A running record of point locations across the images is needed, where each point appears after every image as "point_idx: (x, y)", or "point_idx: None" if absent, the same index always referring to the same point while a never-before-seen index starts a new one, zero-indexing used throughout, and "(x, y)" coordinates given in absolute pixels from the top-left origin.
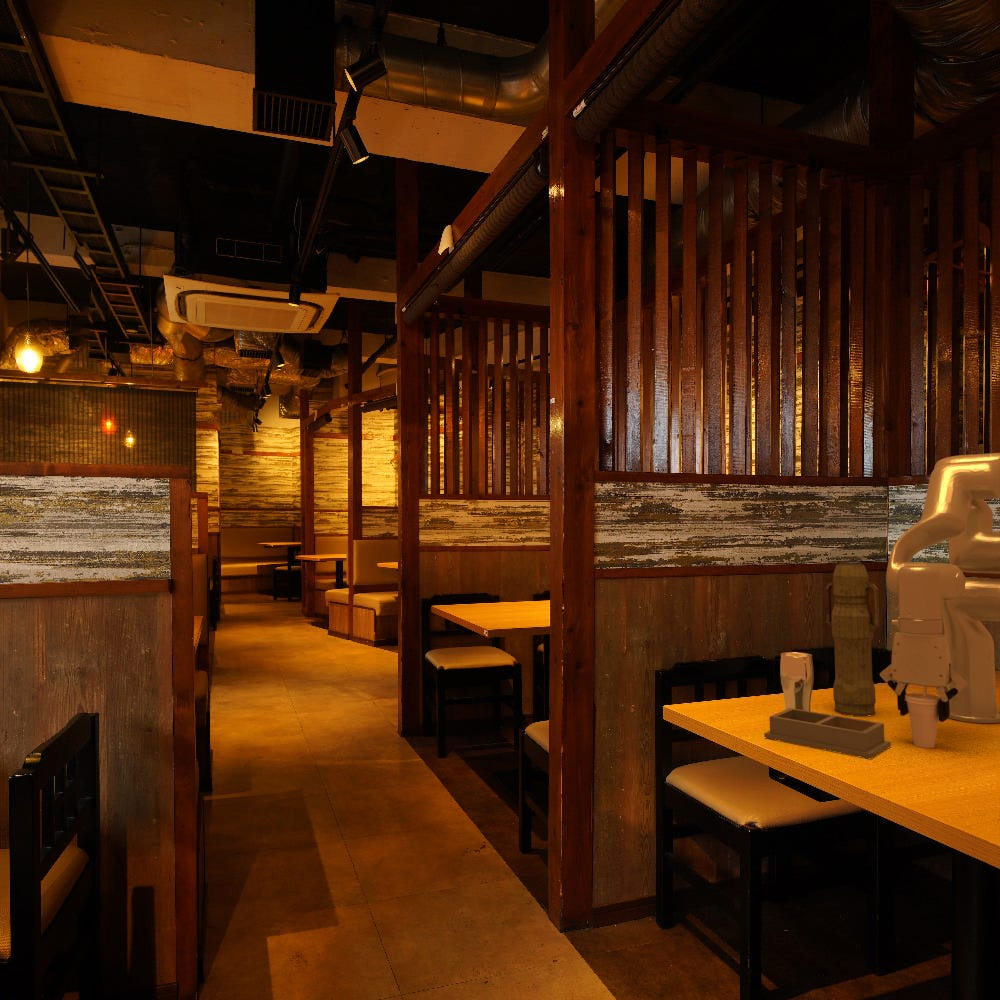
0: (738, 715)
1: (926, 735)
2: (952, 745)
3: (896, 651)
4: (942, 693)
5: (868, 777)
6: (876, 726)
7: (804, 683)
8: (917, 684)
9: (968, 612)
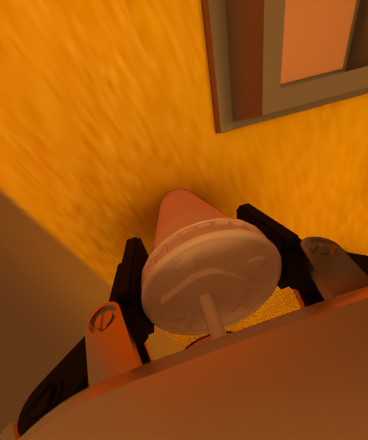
0: None
1: (166, 202)
2: (151, 248)
3: None
4: (103, 347)
5: None
6: (268, 26)
7: None
8: (258, 330)
9: None
